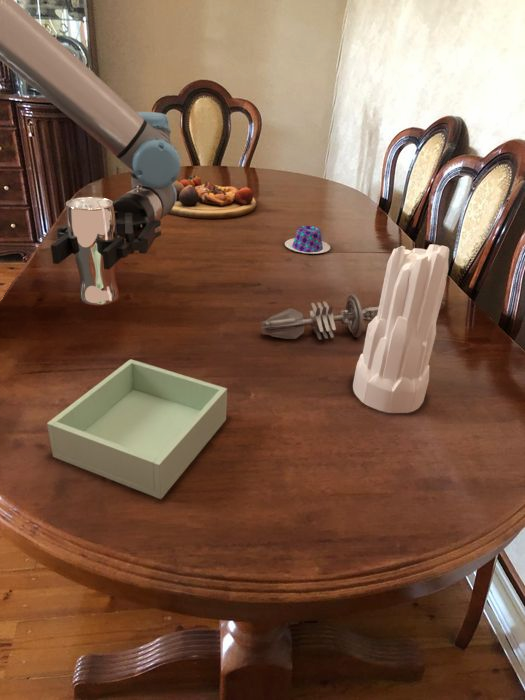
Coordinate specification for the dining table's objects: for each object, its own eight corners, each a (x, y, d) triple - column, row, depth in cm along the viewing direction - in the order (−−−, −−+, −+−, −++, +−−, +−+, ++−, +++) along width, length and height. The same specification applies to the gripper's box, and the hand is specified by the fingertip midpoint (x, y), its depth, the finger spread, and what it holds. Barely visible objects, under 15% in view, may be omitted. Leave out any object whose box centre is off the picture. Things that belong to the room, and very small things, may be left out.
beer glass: (129, 292, 86) (122, 199, 78) (110, 309, 80) (100, 211, 72) (90, 286, 87) (79, 194, 79) (68, 303, 81) (54, 205, 73)
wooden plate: (274, 205, 172) (276, 179, 168) (218, 227, 148) (218, 198, 144) (196, 187, 185) (195, 163, 181) (132, 205, 161) (131, 178, 157)
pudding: (339, 252, 136) (342, 232, 134) (301, 258, 131) (303, 238, 128) (312, 238, 145) (314, 219, 142) (275, 243, 139) (277, 224, 137)
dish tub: (53, 458, 65) (46, 423, 62) (132, 390, 78) (130, 358, 76) (161, 500, 60) (159, 464, 57) (226, 420, 73) (227, 388, 71)
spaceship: (460, 306, 93) (443, 274, 97) (266, 331, 88) (257, 296, 92) (446, 333, 99) (430, 302, 104) (264, 358, 94) (256, 325, 99)
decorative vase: (341, 379, 84) (366, 227, 72) (398, 370, 88) (431, 223, 75) (376, 420, 76) (411, 255, 63) (437, 408, 79) (483, 249, 66)
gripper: (79, 187, 93) (9, 224, 74) (188, 197, 92) (146, 239, 72) (84, 228, 97) (18, 274, 77) (189, 239, 95) (148, 289, 76)
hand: (80, 257), depth 75 cm, fingers closed on beer glass, 7 cm apart
